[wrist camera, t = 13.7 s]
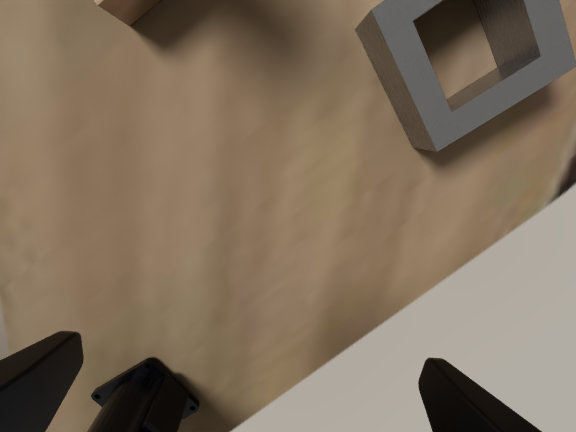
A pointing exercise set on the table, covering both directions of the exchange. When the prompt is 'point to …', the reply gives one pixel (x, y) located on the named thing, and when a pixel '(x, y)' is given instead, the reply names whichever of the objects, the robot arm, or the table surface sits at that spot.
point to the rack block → (127, 8)
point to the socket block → (482, 93)
